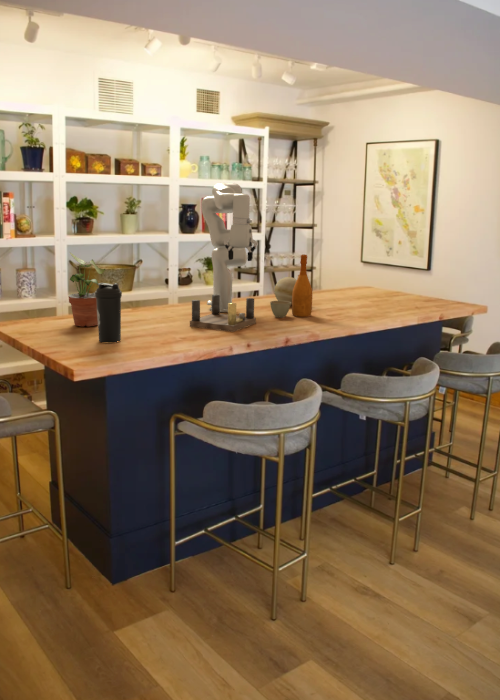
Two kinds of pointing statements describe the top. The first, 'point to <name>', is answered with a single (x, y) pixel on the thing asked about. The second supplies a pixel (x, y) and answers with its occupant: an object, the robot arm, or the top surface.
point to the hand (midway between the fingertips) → (240, 260)
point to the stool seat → (220, 316)
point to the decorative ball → (285, 289)
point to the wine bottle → (302, 292)
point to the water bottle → (109, 312)
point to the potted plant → (84, 298)
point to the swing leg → (234, 314)
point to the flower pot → (280, 308)
